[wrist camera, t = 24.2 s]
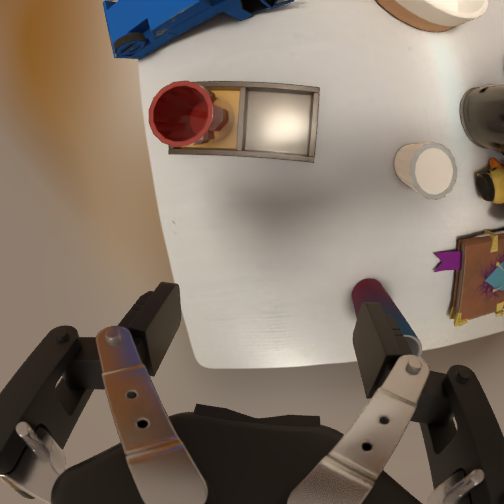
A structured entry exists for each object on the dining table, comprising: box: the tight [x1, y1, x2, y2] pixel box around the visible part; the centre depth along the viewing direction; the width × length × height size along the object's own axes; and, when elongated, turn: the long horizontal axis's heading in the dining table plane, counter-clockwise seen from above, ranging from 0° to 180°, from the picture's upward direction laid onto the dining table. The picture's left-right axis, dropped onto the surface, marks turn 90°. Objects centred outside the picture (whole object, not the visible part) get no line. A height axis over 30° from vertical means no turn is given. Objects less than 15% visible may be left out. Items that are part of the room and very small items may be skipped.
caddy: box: [169, 81, 320, 163], centre depth 34 cm, size 9×18×4 cm, turn 87°
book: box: [434, 230, 504, 326], centre depth 37 cm, size 16×25×5 cm, turn 101°
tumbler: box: [149, 81, 235, 147], centre depth 29 cm, size 6×6×12 cm
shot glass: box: [394, 142, 457, 200], centre depth 32 cm, size 7×7×7 cm
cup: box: [352, 279, 422, 357], centre depth 36 cm, size 7×7×15 cm
